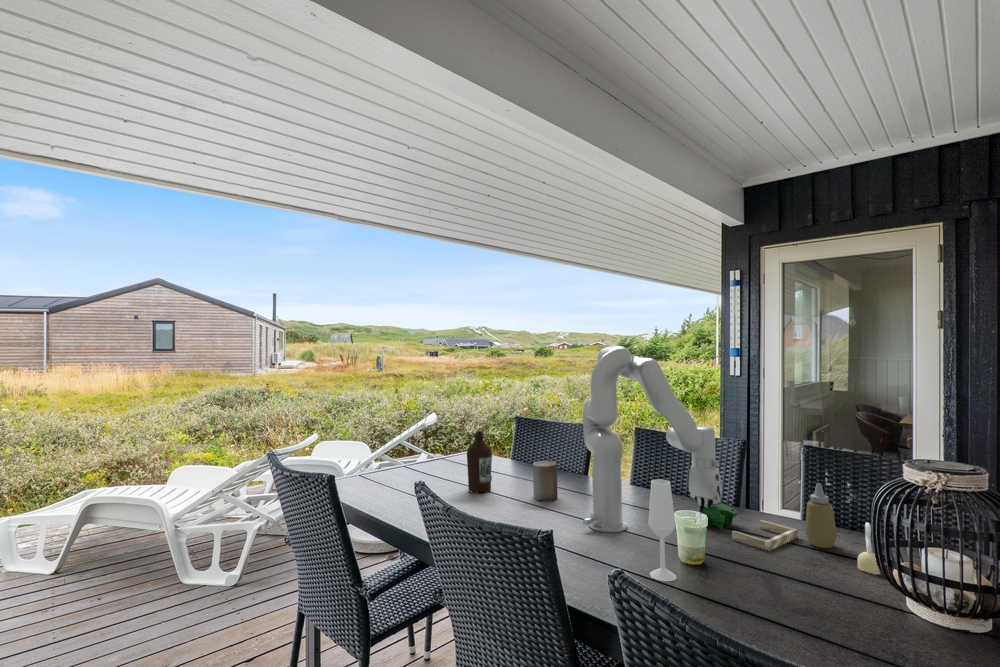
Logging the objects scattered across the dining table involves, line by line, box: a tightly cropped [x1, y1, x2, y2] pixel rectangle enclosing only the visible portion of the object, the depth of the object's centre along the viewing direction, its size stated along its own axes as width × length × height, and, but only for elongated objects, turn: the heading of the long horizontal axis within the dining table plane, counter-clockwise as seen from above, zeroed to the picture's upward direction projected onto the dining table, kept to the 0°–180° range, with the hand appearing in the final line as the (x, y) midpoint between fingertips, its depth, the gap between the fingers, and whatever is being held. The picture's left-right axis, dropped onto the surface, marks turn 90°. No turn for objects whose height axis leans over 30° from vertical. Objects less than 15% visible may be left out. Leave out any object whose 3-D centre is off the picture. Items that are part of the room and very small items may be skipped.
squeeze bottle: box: [804, 482, 838, 549], centre depth 150 cm, size 8×8×18 cm
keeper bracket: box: [731, 519, 799, 552], centre depth 155 cm, size 17×11×2 cm, turn 125°
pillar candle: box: [532, 460, 559, 502], centre depth 202 cm, size 10×10×15 cm
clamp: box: [702, 502, 738, 530], centre depth 168 cm, size 12×6×9 cm, turn 118°
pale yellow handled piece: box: [857, 521, 881, 575], centre depth 133 cm, size 6×5×12 cm
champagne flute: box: [647, 479, 677, 582], centre depth 131 cm, size 7×7×24 cm
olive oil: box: [466, 429, 493, 493], centre depth 214 cm, size 11×11×25 cm
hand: (705, 517), depth 172 cm, fingers closed
